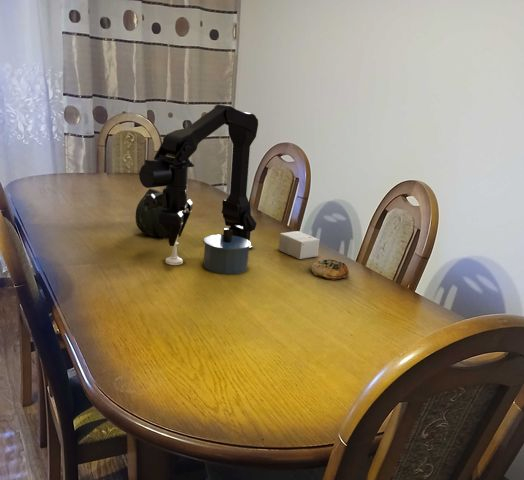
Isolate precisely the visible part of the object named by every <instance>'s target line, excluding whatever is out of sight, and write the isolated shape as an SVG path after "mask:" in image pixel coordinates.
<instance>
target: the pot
mask: <svg viewBox="0 0 524 480" xmlns="http://www.w3.org/2000/svg"><path fill="white" fill-rule="evenodd" d="M203 249H204V253H203V266H204V268H205V269H206V270H207V271H209V272H212V273H216V274H222V275H238V274H243V273H244V272H246V271H247V269H248V261H249V250H250V249H249V248H247V249H243V250H221V249H216V248H212V247H209V246H207V245H206V244H205V243H204V248H203Z"/></svg>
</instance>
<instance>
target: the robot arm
mask: <svg viewBox="0 0 524 480" xmlns="http://www.w3.org/2000/svg"><path fill="white" fill-rule="evenodd" d="M224 125H226V126H227V129H228V130H227V131H228V136H229V138H230V141H231V143H232V156H231V171H230V186H229V195H228V196H227V198H226V199H223V200H222V203H221V205H222V209H221V212H220V213H221V214H222V218H223V221H224V224H225V226H227V227H228V228H231V229H232V235H233V236H238V237H242V238H245V239H247V240H248V241H250V242H251V232H253V231H255V230H256V227H257V225H258V223H257V221H256V219H254V217H253V216H252V208H251V207H252V206H251V203H250V200H249V198H248V196H247V194H248V193H247V191H248V179H249V165H250V164H249V163H250V152H251V145H252V144H253V142H254V140H255V139H256V137H257V133H258V130H259V129H258V128H259V120H258V117H257V116H256V115H255V114H254V113H250V112H246V111H245V112H244V111H242V110H239V109H236V108H234V107H233V106H231V105H228V104H223V103H218V104H216V105H215V106H214V107H213V108H212V109H211V110H209V111H208V112H207V113H205V114H204V115H202V116H201V117H200V118H197V120H196V121H194V122H192V123H191V124H190V125H189V126H187V127H185V128H181V129H175V130H173V131H171V132H168V133H167V134H166V135H164V136H163V138H162V142H161V144H160V146H159V148H158V149H157V151H156V154H155V155H154V157H153V159H148V158H147V159H144V164H143V165H142V166H140V169H139V172H138V178H139V181H140V183H141V185H142V186H143V187H144V188H146V189H153V188H161V187H164V188H163V189H162V191H160V193H156V194H150V195H146V197H145V198H144V206H146V208H147V210H151V209H153V208H157V207H161V206H162V209H163V210H162V211H161V212H160V213H159V214H158V215H157V222H158V223H159V224H160V225H162V226H163V227H164V228H165V230H166V233H167V235H166V237H167V241H168V246H169V247H173V246H174V244H175V242H176V239H177V240H178V238H181V236H182V233H183V231H184V228H185V226H186V224H187V222H188V220H189V218H190V216H191V213H192V210H193V201H192V200H191V199H190V198H188V193H189V187H188V172H189V171H188V170H189V168H194V167H195V164H194V163H193V161H191V159H190V157H191V156H192V155H193V154H194V153H195V152H197V150H198V146H199V144H200V143H201V142H203V140H206V138H207V137H209V136H211V134H213V133H214V132H216V131H217V130H219V129H220V128H221V127H222V126H224ZM187 209H188V210H187ZM178 235H179V236H178ZM177 237H178V238H177ZM250 249H253V246H252V245H250V247H249V250H250Z"/></svg>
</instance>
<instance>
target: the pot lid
mask: <svg viewBox="0 0 524 480" xmlns="http://www.w3.org/2000/svg"><path fill="white" fill-rule="evenodd" d="M251 243H252V242H251V240H250V241H248V240H247V239H245V238H242V237H238V236H233V235H232V229H231V228H229V227H224V228H223V234H211V235H207V236H205V237H204V238H203V244H204V245H205V244H206V245H207V246H209V247H212V248H216V249H221V250H243V249H247V248H249V247H250V246H252V244H251Z"/></svg>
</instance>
